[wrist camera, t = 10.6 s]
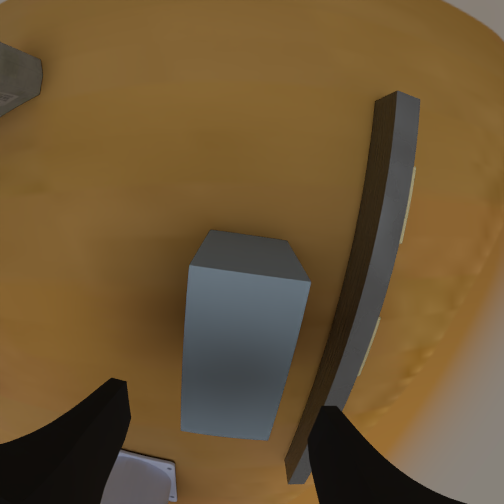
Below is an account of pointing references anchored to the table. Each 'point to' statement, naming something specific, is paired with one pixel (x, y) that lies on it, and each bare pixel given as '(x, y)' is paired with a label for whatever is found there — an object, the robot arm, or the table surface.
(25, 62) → the geiger counter
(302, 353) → the table surface
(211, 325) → the box
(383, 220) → the rail
